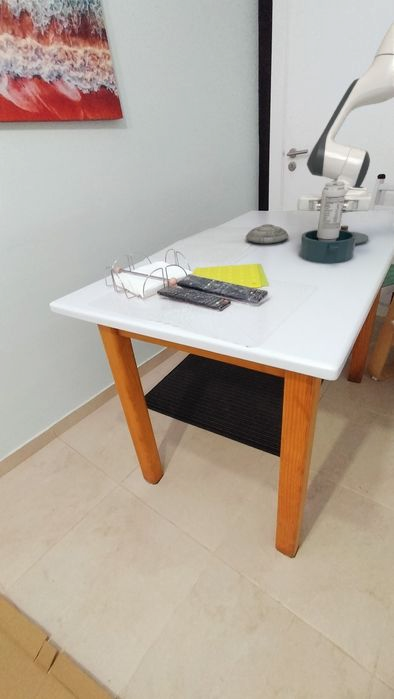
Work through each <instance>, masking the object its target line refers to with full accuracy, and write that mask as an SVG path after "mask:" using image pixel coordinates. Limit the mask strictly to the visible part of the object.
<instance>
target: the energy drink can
mask: <svg viewBox="0 0 394 699" xmlns="http://www.w3.org/2000/svg"><path fill="white" fill-rule="evenodd" d="M331 182H332V181H331ZM345 192H346V189H345V187H344V183H341V182H332V183H330V182H326V183H325V185H324V187H323V188H322V191H321V194H322V198H321V207H320V211H319V215H318V216H319V217H318V223H317V230H318V231H317V237H318V238H319V239H318V240H319V241H336V238H338V237H339V231H340V227H341V224H342V218H343V213H342V209H343V204H344V198H345Z"/></svg>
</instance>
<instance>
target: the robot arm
mask: <svg viewBox="0 0 394 699" xmlns="http://www.w3.org/2000/svg"><path fill="white" fill-rule="evenodd" d="M393 98H394V20H393V21H392V23H391V24H390V25H389V27H388V29H387V31H386V32H385V35H384V36H383V39H382V40H381V42H380V45H379V46H378V49H377V51H376V53H375V55H374V58H373V60H372V62H371V64H370V66H369V67H368V69H367V70H366V71H365V72H364V74H363V75H362V76H360V77H359V78H356V79H354V80H353V81H352V82H351V83H350V85H349V86H348V88H347V89H346V90H345V93H344V94H343V96H342V97H341V99H340V101H339V103H338V104H337V106H336V108H335V109H334V112H333V113H332V115H331V117H330V119H329V120H328V122H327V124H326V126H325V128H324V129H323V131H322V133H321V135H320V136H319V138H318V140H317V141H316V142H315V144H314V145H313V147H312V148H311V149H310V152H309V154H308V157H307V162H306V167H307V169H308V170H309V173H310V175H311V176H317V177H323V178H327V179H330V180H332V181H330V182H329V183H332V182H341V183H344V187H345V189H346V192H345V198H344V204H343V209H342V214H344V213H351V212H369V211H370V210H371V207H372V201H373V194H372V193H371V192H370V191H368V187H367V186H362V184H363V182H364V181H365V178H366V176H367V174H368V170H369V167H370V165H371V158H370V154H369V152H368V151H367V150H366V149H363V148H360V147H355V146H351V145H346V144H344V143H339V142H336V141H335V138H336V136H337V134H338V133H339V131H340V130H341V128H342V126H343V124H344V123H345V122H346V119H347V118H348V116H349V115H350V114H351V113H352V111H353V112H354V111H355V110H357V109H358V108H362V107H365V106H369V105H376V104H377V105H378V104H381V103H385V102H387V101H389V100H391V99H393ZM321 198H322V193H320V194H319V193H315V194H314V193H313V194H312V193H311V194H310V193H309V194H303V195H301V196H299V197H298V200H297V209H296V210H297V211H301V212H302V211H303V212H307V211H309V212H320V207H321Z"/></svg>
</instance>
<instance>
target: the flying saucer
mask: <svg viewBox="0 0 394 699" xmlns="http://www.w3.org/2000/svg"><path fill="white" fill-rule="evenodd" d="M289 235H290V234H289V233H288V232H287V230H285V229H284V228H282V227H280V226H276V225H273V224H270V223H267V224H266V223H265V224H262V225H260V226H256V227H254V228H253V229H251V230H250V231H248V233H247V234H246V235H245V239H246V240H247V241H249V242H252V243H257V244H274V243H280V242H283V241H285V240H287V239H288V238H289V237H290V236H289Z"/></svg>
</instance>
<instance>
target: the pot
mask: <svg viewBox="0 0 394 699" xmlns="http://www.w3.org/2000/svg"><path fill="white" fill-rule="evenodd" d="M317 231H318V229H311V230H308V231H305V232H303V233H302V234H301V236H300V238H301V239H300V249H299V254H300V255H299V256H300V258H301V259H303V260H304V261H307V262H311V263H316V264H338V263H344V262H347V261H350V260H351V259H352V258H353V255H354V251H355V245H356V244H355V241H356V235H355V234H354V233H352V232H353V231H349V230H348V231H345V230H340V231H339V237H338V238H336V241H319V240H318V239H319V238H318V237H317Z"/></svg>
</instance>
